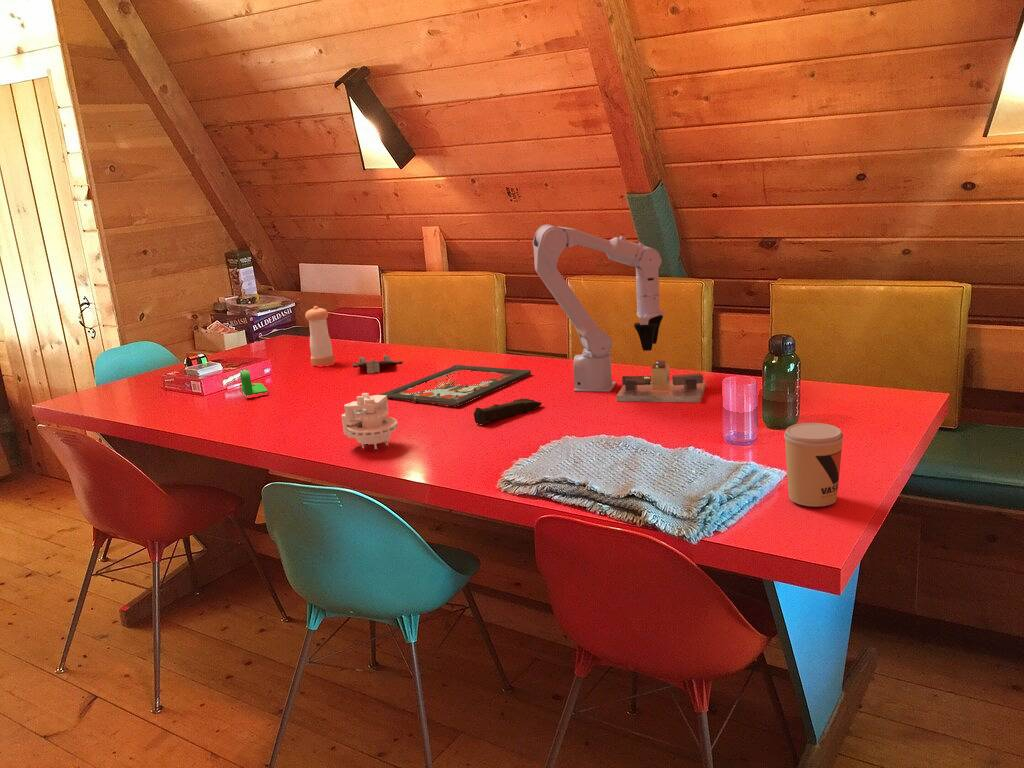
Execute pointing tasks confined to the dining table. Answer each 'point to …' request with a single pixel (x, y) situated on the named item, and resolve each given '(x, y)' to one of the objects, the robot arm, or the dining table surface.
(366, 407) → the mechanical part
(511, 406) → the hand tool
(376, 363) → the metal bracket
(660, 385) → the tan block with knob
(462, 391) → the painting
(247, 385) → the mechanical part
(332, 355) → the salt shaker
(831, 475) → the coffee cup
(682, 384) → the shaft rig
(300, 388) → the dining table surface
